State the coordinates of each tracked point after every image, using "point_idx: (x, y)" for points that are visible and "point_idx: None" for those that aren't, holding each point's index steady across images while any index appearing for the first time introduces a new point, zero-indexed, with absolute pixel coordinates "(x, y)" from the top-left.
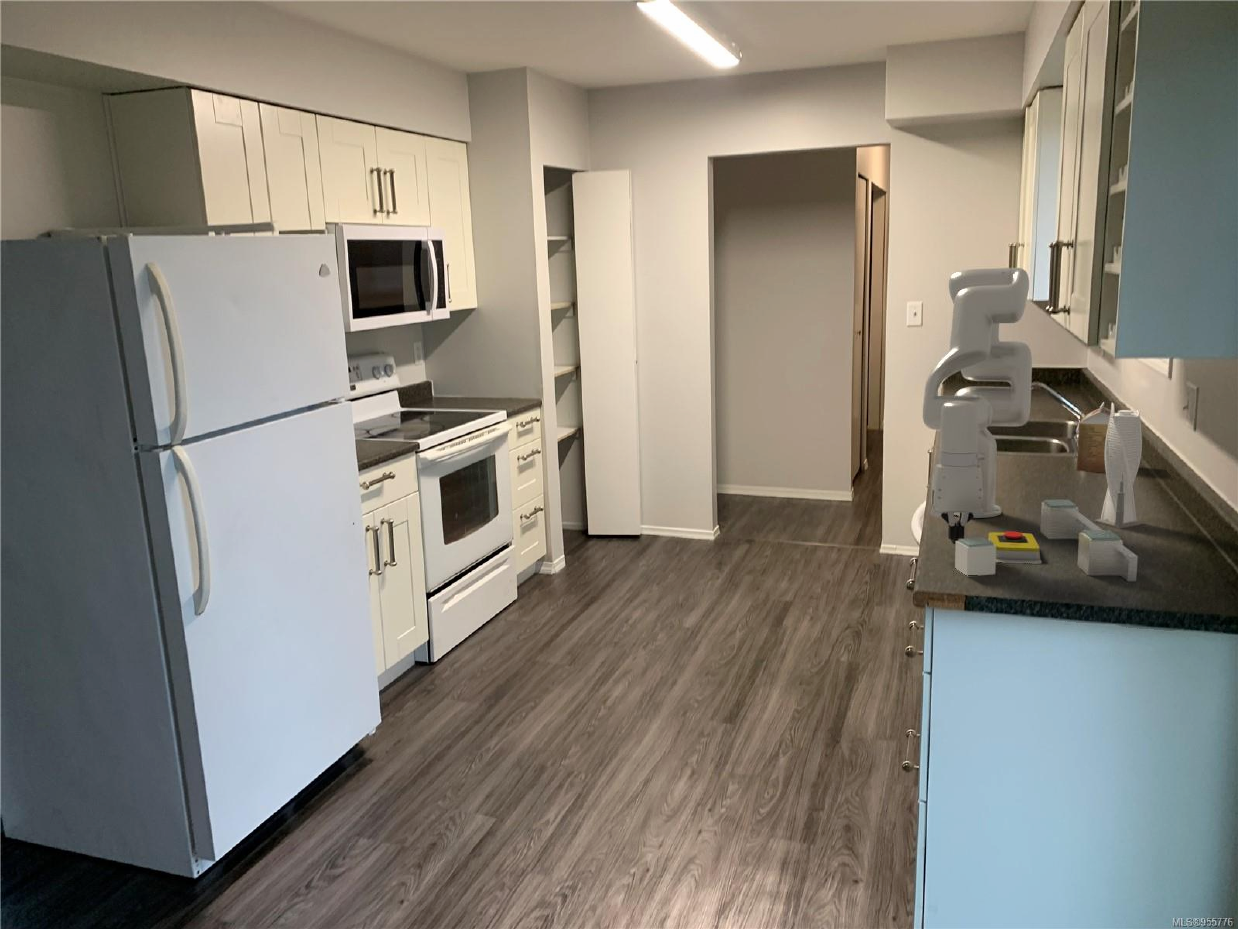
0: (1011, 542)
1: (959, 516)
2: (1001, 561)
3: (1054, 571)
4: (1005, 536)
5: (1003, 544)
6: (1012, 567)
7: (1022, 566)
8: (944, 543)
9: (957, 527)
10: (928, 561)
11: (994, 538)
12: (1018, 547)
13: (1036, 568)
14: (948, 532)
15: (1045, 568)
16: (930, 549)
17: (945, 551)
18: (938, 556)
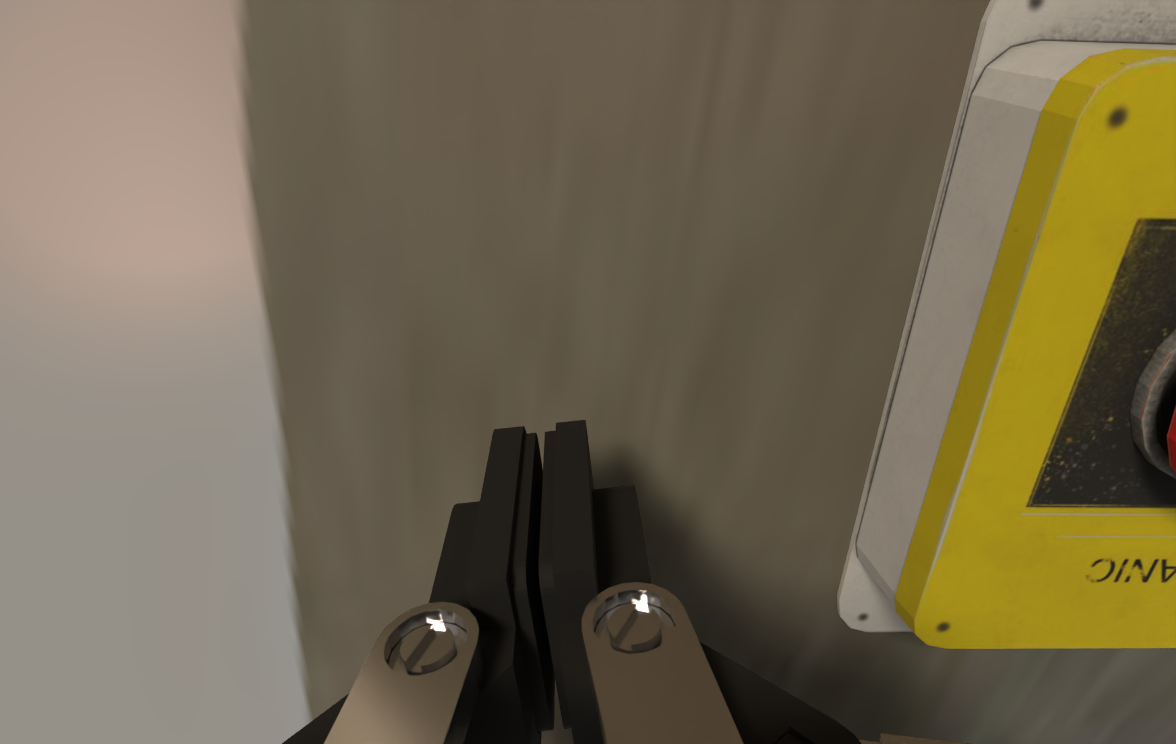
0: (1153, 503)
1: (603, 738)
2: (890, 619)
3: (1163, 738)
4: (1171, 455)
5: (1032, 568)
6: (921, 703)
7: (1002, 680)
8: (444, 84)
9: (552, 729)
10: (320, 656)
11: (1038, 368)
12: (1129, 638)
13: (1078, 704)
14: (446, 542)
15: (1140, 698)
16: (298, 347)
17: (455, 398)
18: (393, 541)
